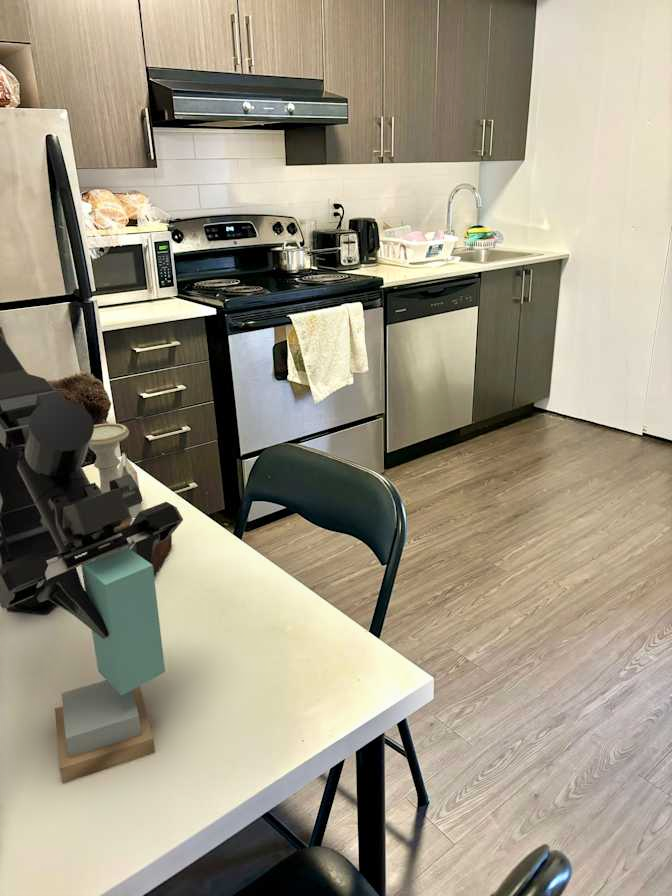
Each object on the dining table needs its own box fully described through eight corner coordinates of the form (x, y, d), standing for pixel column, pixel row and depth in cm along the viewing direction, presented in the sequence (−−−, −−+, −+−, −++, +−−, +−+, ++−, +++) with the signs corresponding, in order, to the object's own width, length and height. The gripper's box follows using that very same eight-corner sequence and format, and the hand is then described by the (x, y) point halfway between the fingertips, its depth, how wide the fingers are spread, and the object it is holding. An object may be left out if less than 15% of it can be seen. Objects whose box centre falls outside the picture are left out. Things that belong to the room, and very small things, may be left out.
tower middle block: (70, 757, 67) (65, 738, 66) (65, 711, 73) (61, 693, 72) (141, 734, 70) (138, 715, 69) (131, 691, 76) (128, 673, 75)
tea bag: (120, 520, 118) (112, 468, 114) (120, 504, 124) (112, 454, 120) (142, 517, 119) (134, 465, 115) (141, 501, 125) (133, 451, 121)
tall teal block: (98, 671, 71) (81, 565, 67) (140, 650, 75) (127, 547, 70) (121, 695, 68) (105, 584, 63) (165, 672, 71) (152, 565, 67)
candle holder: (102, 536, 113) (82, 422, 105) (155, 535, 113) (138, 420, 105) (85, 564, 105) (62, 442, 97) (141, 562, 105) (123, 440, 97)
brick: (153, 583, 99) (149, 556, 98) (127, 583, 100) (122, 555, 98) (174, 547, 109) (170, 521, 108) (150, 547, 110) (146, 521, 108)
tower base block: (64, 788, 67) (59, 769, 66) (58, 726, 74) (54, 708, 74) (156, 756, 70) (153, 738, 69) (142, 700, 78) (139, 683, 77)
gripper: (-23, 488, 59) (55, 647, 56) (163, 432, 71) (235, 559, 68) (-34, 537, 67) (33, 678, 64) (134, 479, 79) (198, 595, 76)
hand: (131, 624), depth 68 cm, fingers closed on tall teal block, 5 cm apart
